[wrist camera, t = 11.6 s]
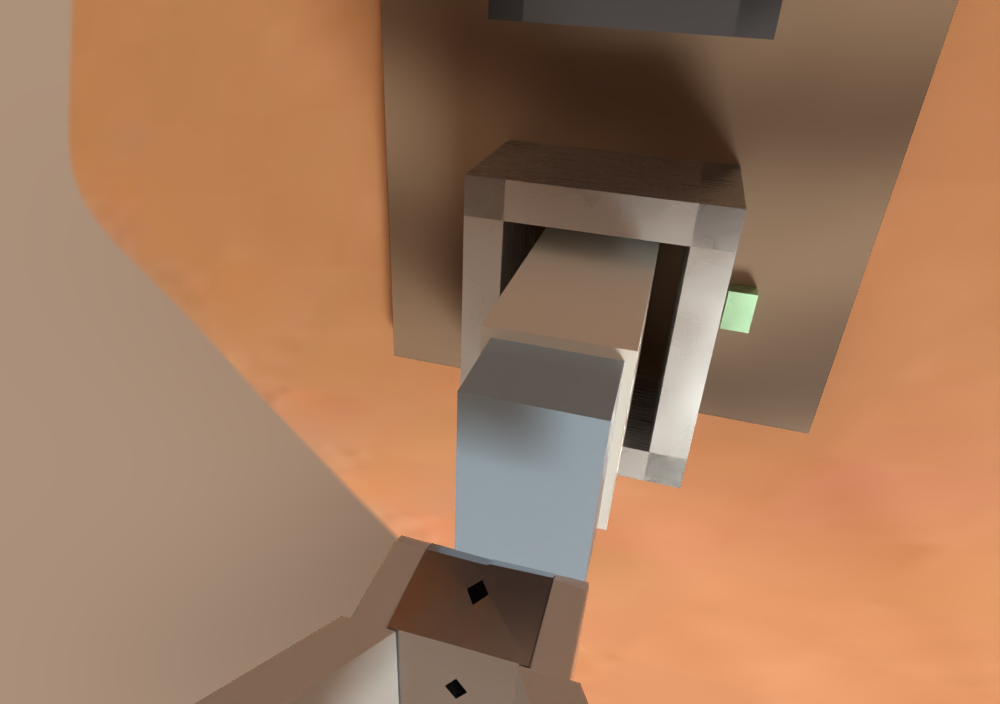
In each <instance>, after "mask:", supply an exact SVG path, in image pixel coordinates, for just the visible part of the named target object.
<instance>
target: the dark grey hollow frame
mask: <svg viewBox="0 0 1000 704" xmlns="http://www.w3.org/2000/svg"><path fill="white" fill-rule="evenodd" d="M782 2H783V0H489V2H488V19H490V20H504V21H518V22H532V23H546V24H560V25H574V26H588V27H602V28H616V29H630V30H643V31H657V32H671V33H685V34H699V35H713V36H727V37H741V38H755V39H769V40H774V36H775V32H776V28H777V23H778V19H779V15H780V10H781V6H782Z"/></svg>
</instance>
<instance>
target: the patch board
mask: <svg viewBox="0 0 1000 704" xmlns="http://www.w3.org/2000/svg"><path fill="white" fill-rule="evenodd" d="M488 2H489V0H381V21H382V47H383V73H384V99H385V125H386V151H387V177H388V203H389V229H390V255H391V281H392V307H393V333H394V356H398V357H404V358H409V359H414V360H420V361H425V362H430V363H436V364H441V365H446V366H452V367H457V368H461V336H462V285H463V235H464V184H465V174H466V173H467V172H469V171H470V170H471V169H472V168H474V167H475V166H476V165H477V164H479V163H480V162H481V161H482V160H484V159H485V158H486V157H487V156H489V155H490V154H491V153H492V152H494V151H495V150H496V149H497V148H499V147H500V146H501V145H503V144H504V143H505V142H506V141H508V140H515V141H524V142H533V143H542V144H551V145H560V146H569V147H578V148H587V149H596V150H605V151H614V152H623V153H632V154H641V155H650V156H659V157H668V158H678V159H687V160H696V161H705V162H714V163H723V164H732V165H740V167H741V174H742V181H743V188H744V195H745V202H746V209H747V210H746V214H745V218H744V222H743V227H742V231H741V235H740V239H739V243H738V248H737V252H736V256H735V260H734V264H733V269H732V273H731V277H730V281H729V283H732V284H739V285H746V286H753V287H757V289H758V299H757V303H756V306H755V310H754V314H753V318H752V321H751V325H750V329H749V333H744V332H738V331H732V330H725V329H720V323H719V327H718V332H717V336H716V340H715V344H714V348H713V352H712V357H711V361H710V365H709V369H708V373H707V378H706V382H705V386H704V390H703V394H702V399H701V403H700V407H699V411H698V413H702V414H707V415H712V416H718V417H723V418H728V419H734V420H739V421H744V422H749V423H755V424H760V425H765V426H771V427H776V428H781V429H787V430H792V431H797V432H803V433H808V434H809V431H810V428H811V425H812V422H813V419H814V416H815V413H816V410H817V408H818V405H819V402H820V399H821V396H822V393H823V390H824V387H825V384H826V382H827V379H828V376H829V373H830V370H831V367H832V364H833V361H834V358H835V356H836V353H837V350H838V347H839V344H840V341H841V338H842V335H843V332H844V330H845V327H846V324H847V321H848V318H849V315H850V312H851V309H852V307H853V304H854V301H855V298H856V295H857V292H858V289H859V286H860V283H861V281H862V278H863V275H864V272H865V269H866V266H867V263H868V260H869V257H870V255H871V252H872V249H873V246H874V243H875V240H876V237H877V234H878V231H879V229H880V226H881V223H882V220H883V217H884V214H885V211H886V208H887V205H888V203H889V200H890V197H891V194H892V191H893V188H894V185H895V182H896V179H897V177H898V174H899V171H900V168H901V165H902V162H903V159H904V156H905V153H906V151H907V148H908V145H909V142H910V139H911V136H912V133H913V130H914V127H915V125H916V122H917V119H918V116H919V113H920V110H921V107H922V104H923V102H924V99H925V96H926V93H927V90H928V87H929V84H930V81H931V78H932V76H933V73H934V70H935V67H936V64H937V61H938V58H939V55H940V52H941V50H942V47H943V44H944V41H945V38H946V35H947V32H948V29H949V26H950V24H951V21H952V18H953V15H954V12H955V9H956V6H957V3H958V0H783V2H782V6H781V10H780V15H779V19H778V23H777V28H776V32H775V36H774V40H769V39H755V38H741V37H727V36H713V35H699V34H685V33H671V32H657V31H643V30H630V29H616V28H602V27H588V26H574V25H560V24H546V23H532V22H518V21H504V20H490V19H488ZM545 228H546V227H544V226H537V225H536V235H535V243H536V242H537V240H538V239H539V237H540V236H541V234H542V233H543V231H544V230H545ZM684 249H685V246H682V245H675V244H668V243H660V246H659V252H658V257H657V263H656V269H655V274H654V280H653V286H652V291H651V297H650V303H649V308H648V314H647V320H646V325H645V331H644V337H643V342H642V348H641V354H640V359H639V364H638V369H637V374H642V375H648V376H653V377H659V376H660V371H661V366H662V361H663V356H664V351H665V346H666V341H667V336H668V331H669V326H670V320H671V315H672V310H673V305H674V300H675V295H676V290H677V285H678V280H679V275H680V270H681V264H682V259H683V254H684Z"/></svg>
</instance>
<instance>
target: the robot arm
mask: <svg viewBox="0 0 1000 704" xmlns="http://www.w3.org/2000/svg"><path fill="white" fill-rule="evenodd" d="M588 589H589V583H588V582H585V581H581V580H577V579H573V578H569V577H565V576H561V575H557V574H556V576H555V574H554V573H550V572H546V571H541V570H537V569H533V568H529V567H524V566H520V565H516V564H512V563H507V562H503V561H499V560H495V559H492V560H491V559H487V558H483V557H480V556H476V555H473V554H469V553H465V552H462V551H458V550H455V549H451V548H447V547H444V546H440V545H437V544H433V543H428V542H424V541H420V540H417V539H413V538H409V537H406V536H401V537H399V538H398V539H397V540H396V541H395V542H394V543H393V545H392V547H391V549H390V550H389V552H388V554H387V556H386V557H385V559H384V561H383V563H382V564H381V566H380V568H379V570H378V571H377V573H376V575H375V577H374V579H373V580H372V582H371V584H370V585H369V587H368V589H367V591H366V593H365V595H364V596H363V598H362V600H361V601H360V603H359V605H358V606H357V608H356V610H355V612H354V614H353V615H352V617H351V618H348V617H344V616H341V617H339V618H337V619H336V620H334V621H332V622H331V623H329V624H328V625H326V626H324V627H322V628H321V629H319V630H317V631H316V632H314V633H312V634H311V635H309V636H307V637H306V638H304V639H302V640H301V641H299V642H297V643H296V644H294V645H292V646H291V647H289V648H287V649H286V650H284V651H282V652H281V653H279V654H277V655H275V656H274V657H273V658H270V659H269V660H267V661H265V662H264V663H262V664H261V665H259V666H257V667H255V668H254V669H252V670H250V671H249V672H247V673H245V674H244V675H242V676H240V677H239V678H237V679H235V680H234V681H232V682H230V683H229V684H227V685H225V686H224V687H222V688H220V689H218V690H217V691H215V692H213V693H212V694H210V695H209V696H207V697H205V698H204V699H202V700H200V701H199V702H197V703H195V704H588V702H587V699H586V697H585V694H584V692H583V689H582V687H581V684H580V683H578V682H575V681H573V677H574V672H575V667H576V661H577V655H578V649H579V643H580V637H581V631H582V625H583V619H584V613H585V607H586V601H587V595H588Z"/></svg>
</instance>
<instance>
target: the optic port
mask: <svg viewBox="0 0 1000 704" xmlns="http://www.w3.org/2000/svg"><path fill="white" fill-rule="evenodd" d="M746 210H747V209H746V202H745V195H744V188H743V181H742V174H741V167H740V165H732V164H723V163H714V162H705V161H696V160H687V159H678V158H668V157H659V156H650V155H641V154H632V153H623V152H614V151H605V150H596V149H587V148H578V147H569V146H560V145H551V144H542V143H533V142H524V141H515V140H508V141H506V142H505V143H504V144H503V145H501V146H500V147H499V148H497V149H496V150H495V151H494V152H492V153H491V154H490V155H489V156H487V157H486V158H485V159H484V160H482V161H481V162H480V163H479V164H477V165H476V166H475V167H474V168H472V169H471V170H470V171H469V172H467V173H466V174H465V184H464V235H463V285H462V336H461V385H462V383H463V382H464V380H465V379H466V377H467V375H468V374H469V372H470V370H471V369H472V367H473V366H474V364H475V362H476V361H477V359H478V357H479V356H480V348H481V324H482V323H483V321H484V320H485V318H486V317H487V315H488V314H489V312H490V311H491V309H492V308H493V306H494V305H495V303H496V302H497V300H498V299H499V297H500V296H501V294H502V293H503V291H504V290H505V288H506V287H507V285H508V284H509V282H510V281H511V279H512V278H513V276H514V275H515V273H516V272H517V270H518V269H519V267H520V266H521V264H522V263H523V261H524V260H525V258H526V257H527V255H528V254H529V252H530V251H531V249H532V248H533V246H534V245H535V235H536V225H537V226H544V227H551V228H558V229H566V230H573V231H580V232H588V233H595V234H602V235H609V236H617V237H624V238H631V239H639V240H646V241H653V242H660V243H668V244H675V245H682V246H685V249H684V254H683V259H682V264H681V270H680V275H679V280H678V285H677V290H676V295H675V300H674V305H673V310H672V315H671V320H670V326H669V331H668V336H667V341H666V346H665V351H664V356H663V361H662V366H661V371H660V376H659V377H653V376H648V375H642V374H636V380H635V385H634V390H633V395H632V400H631V405H630V411H629V416H628V421H627V426H626V431H625V437H624V442H623V447H622V452H621V457H620V462H619V468H618V473H617V475H620V476H625V477H630V478H634V479H639V480H644V481H649V482H653V483H658V484H663V485H667V486H672V487H677V488H680V487H681V482H682V478H683V474H684V470H685V466H686V462H687V457H688V453H689V449H690V445H691V441H692V436H693V432H694V428H695V424H696V420H697V415H698V411H699V407H700V403H701V399H702V394H703V390H704V386H705V382H706V378H707V373H708V369H709V365H710V361H711V357H712V352H713V348H714V344H715V340H716V336H717V332H718V327H719V323H720V329H725V330H732V331H738V332H744V333H749V329H750V325H751V321H752V318H753V314H754V310H755V306H756V303H757V299H758V289H757V287H753V286H746V285H739V284H732V283H729V281H730V277H731V273H732V269H733V264H734V260H735V256H736V252H737V248H738V243H739V239H740V235H741V231H742V227H743V222H744V218H745V214H746ZM460 387H461V386H460Z"/></svg>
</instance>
